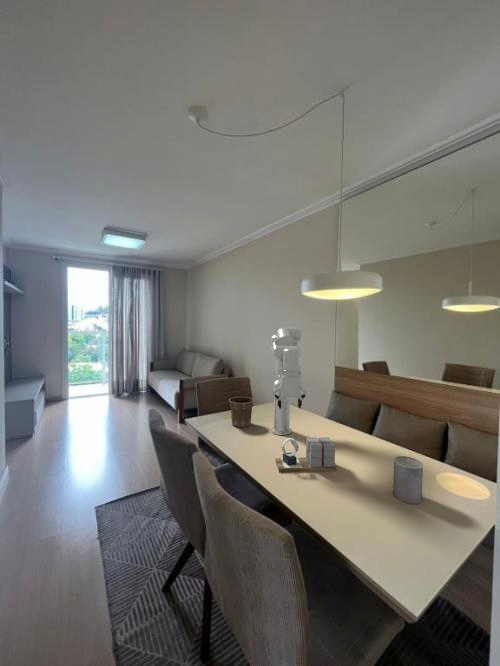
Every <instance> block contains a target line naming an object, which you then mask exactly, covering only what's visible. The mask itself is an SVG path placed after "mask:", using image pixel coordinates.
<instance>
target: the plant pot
mask: <svg viewBox="0 0 500 666" xmlns="http://www.w3.org/2000/svg"><path fill="white" fill-rule="evenodd" d="M228 401H229V407H230V415H231V416H230V417H231V425H232V426H233V427H237V428H247V427H249V426H251V424H252V423H251V422H252V412H253V407H254V402H255V399H254V398H252V397H248V396H235V397H231V398H229V399H228Z"/></svg>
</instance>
